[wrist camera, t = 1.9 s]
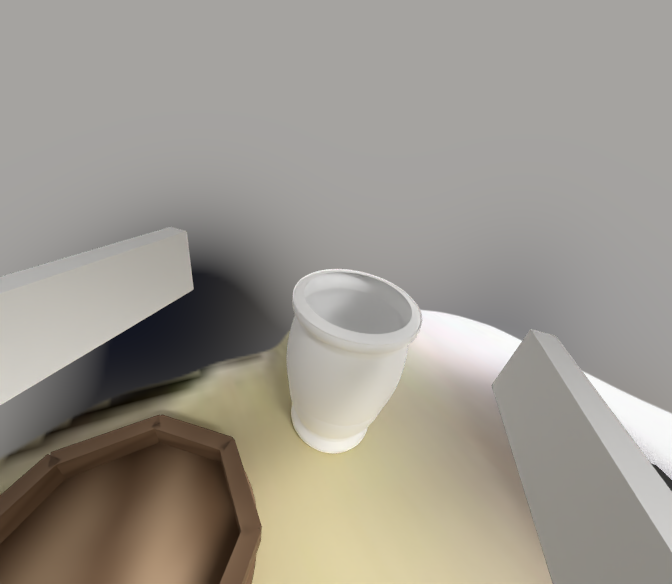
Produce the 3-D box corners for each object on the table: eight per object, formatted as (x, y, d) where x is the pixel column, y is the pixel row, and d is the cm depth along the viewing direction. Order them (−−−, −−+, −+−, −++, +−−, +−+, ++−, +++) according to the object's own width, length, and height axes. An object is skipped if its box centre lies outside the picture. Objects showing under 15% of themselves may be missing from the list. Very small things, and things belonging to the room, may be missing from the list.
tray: (224, 407, 27) (223, 389, 26) (298, 640, 16) (303, 630, 14) (-42, 507, 18) (-68, 487, 16) (-358, 1274, 6) (-535, 1428, 5)
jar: (277, 379, 31) (286, 265, 24) (358, 372, 34) (389, 269, 27) (285, 477, 23) (302, 347, 15) (393, 457, 26) (452, 340, 18)
